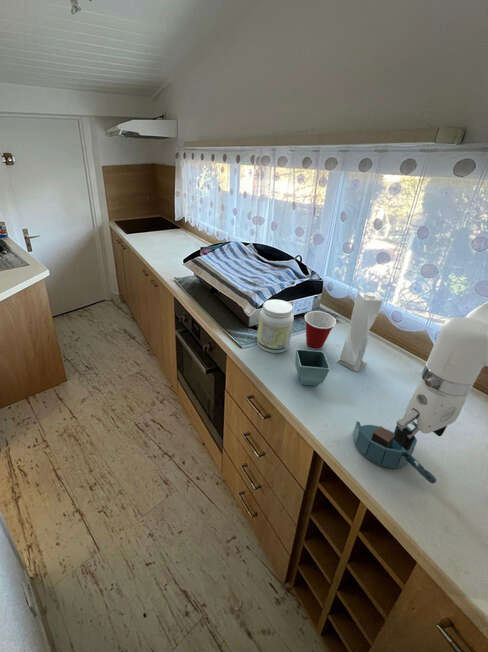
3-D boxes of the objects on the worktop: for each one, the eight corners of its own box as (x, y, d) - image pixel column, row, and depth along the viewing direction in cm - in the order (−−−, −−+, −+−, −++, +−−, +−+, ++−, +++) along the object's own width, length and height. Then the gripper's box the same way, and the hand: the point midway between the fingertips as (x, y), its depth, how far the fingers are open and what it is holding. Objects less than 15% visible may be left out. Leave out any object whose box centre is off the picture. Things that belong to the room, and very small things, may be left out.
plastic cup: (299, 351, 113) (305, 323, 107) (299, 335, 122) (304, 309, 116) (331, 356, 110) (338, 328, 104) (328, 339, 119) (335, 313, 114)
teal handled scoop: (451, 486, 67) (460, 470, 65) (406, 503, 65) (414, 486, 62) (380, 422, 84) (385, 407, 82) (342, 432, 81) (346, 417, 79)
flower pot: (324, 391, 95) (330, 369, 91) (295, 388, 96) (300, 366, 92) (318, 372, 103) (324, 351, 98) (291, 370, 104) (295, 348, 100)
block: (376, 435, 79) (380, 425, 78) (391, 445, 77) (395, 434, 75) (370, 442, 78) (373, 432, 76) (385, 452, 75) (388, 442, 73)
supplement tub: (265, 332, 125) (270, 295, 117) (294, 343, 117) (301, 304, 109) (250, 345, 116) (254, 306, 108) (279, 358, 109) (286, 318, 101)
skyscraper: (332, 360, 108) (352, 289, 95) (343, 351, 112) (363, 282, 99) (357, 372, 102) (381, 298, 89) (367, 362, 107) (392, 290, 93)
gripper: (434, 404, 54) (404, 465, 62) (498, 379, 58) (462, 439, 67) (395, 377, 60) (373, 436, 68) (456, 356, 65) (428, 414, 73)
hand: (417, 437), depth 67 cm, fingers open, 9 cm apart
